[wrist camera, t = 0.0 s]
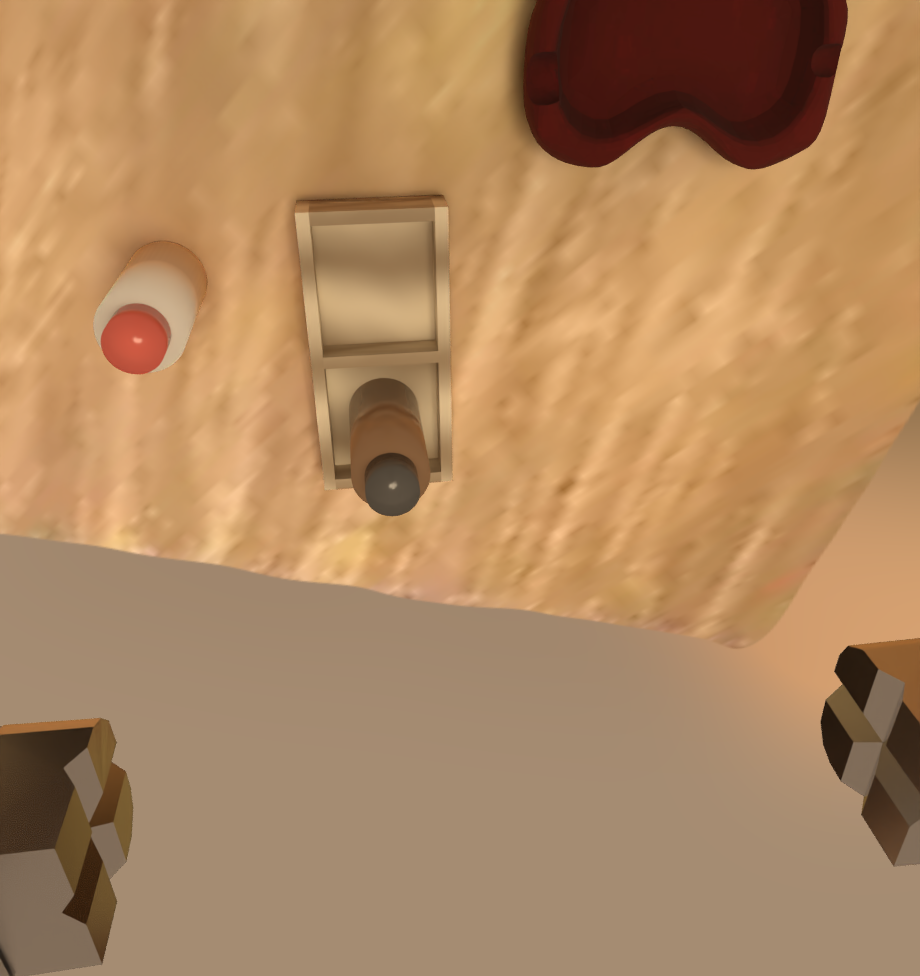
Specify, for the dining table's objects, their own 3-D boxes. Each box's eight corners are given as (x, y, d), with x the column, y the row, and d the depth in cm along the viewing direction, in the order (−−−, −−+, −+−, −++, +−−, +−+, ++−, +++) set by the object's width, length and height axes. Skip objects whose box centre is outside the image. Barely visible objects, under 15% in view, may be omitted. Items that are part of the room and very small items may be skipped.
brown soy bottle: (346, 380, 58) (348, 460, 49) (416, 375, 58) (432, 454, 49) (351, 442, 60) (354, 530, 51) (419, 438, 61) (434, 524, 52)
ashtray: (853, -161, 47) (904, -172, 42) (783, 156, 55) (820, 173, 51) (530, -181, 44) (551, -195, 40) (509, 152, 53) (524, 170, 49)
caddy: (296, 200, 52) (294, 212, 50) (442, 194, 53) (448, 206, 51) (325, 468, 62) (324, 490, 60) (447, 460, 63) (452, 480, 61)
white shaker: (120, 242, 53) (74, 303, 43) (200, 239, 53) (171, 299, 44) (136, 317, 55) (96, 390, 46) (212, 313, 56) (188, 385, 46)
